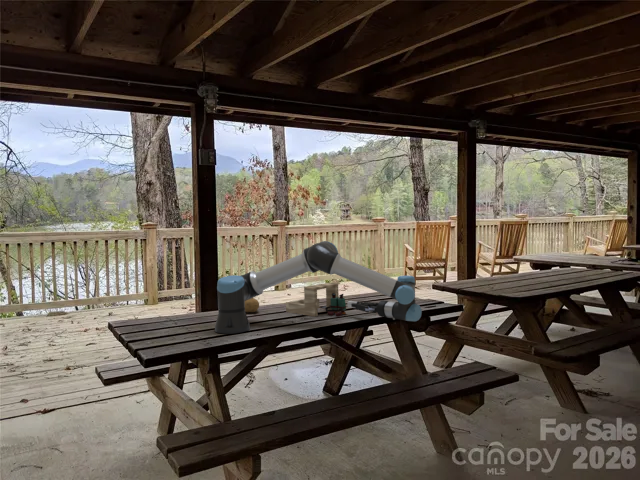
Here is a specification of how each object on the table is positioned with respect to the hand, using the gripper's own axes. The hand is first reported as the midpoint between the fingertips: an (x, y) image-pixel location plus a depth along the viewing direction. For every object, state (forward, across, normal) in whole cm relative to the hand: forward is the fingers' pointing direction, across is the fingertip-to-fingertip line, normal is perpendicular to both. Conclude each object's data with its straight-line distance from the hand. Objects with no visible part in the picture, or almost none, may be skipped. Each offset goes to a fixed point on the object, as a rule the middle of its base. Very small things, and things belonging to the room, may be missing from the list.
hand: (348, 303), depth 226 cm
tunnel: (+25, 0, -6) cm, 26 cm away
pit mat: (+25, +14, -6) cm, 29 cm away
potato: (+50, -21, -7) cm, 55 cm away
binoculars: (+8, 0, -7) cm, 11 cm away
